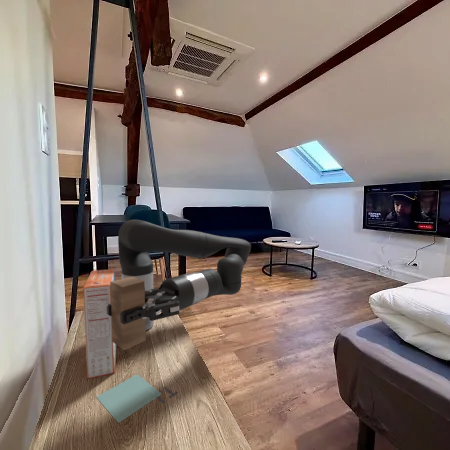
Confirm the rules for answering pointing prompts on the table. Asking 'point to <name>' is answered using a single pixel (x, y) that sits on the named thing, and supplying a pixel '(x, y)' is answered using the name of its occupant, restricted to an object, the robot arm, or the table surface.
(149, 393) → the felt mat
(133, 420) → the table surface
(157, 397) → the code marks
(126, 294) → the walnut block
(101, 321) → the cracker box
